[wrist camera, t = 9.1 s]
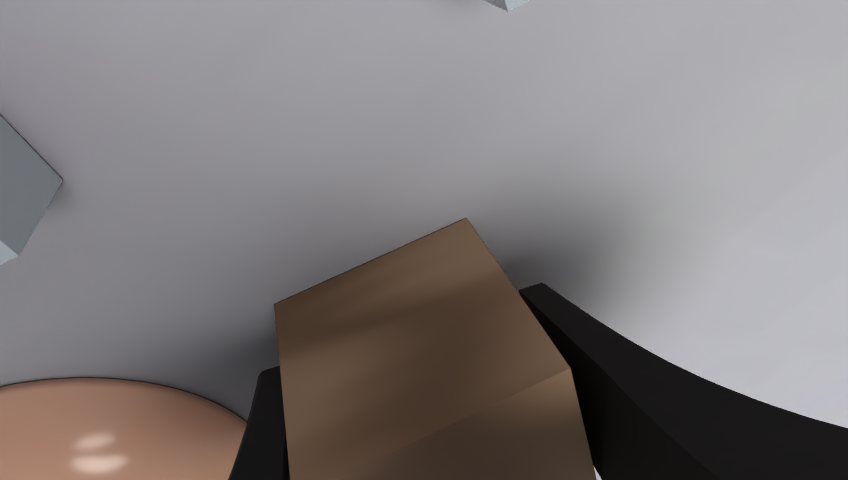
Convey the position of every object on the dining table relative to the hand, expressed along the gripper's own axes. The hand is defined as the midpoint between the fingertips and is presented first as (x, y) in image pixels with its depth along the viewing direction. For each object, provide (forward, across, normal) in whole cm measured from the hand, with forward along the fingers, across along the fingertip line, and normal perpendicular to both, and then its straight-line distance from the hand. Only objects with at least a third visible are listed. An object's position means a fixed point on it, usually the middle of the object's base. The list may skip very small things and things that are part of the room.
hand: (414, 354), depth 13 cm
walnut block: (+1, 0, 0) cm, 1 cm away
